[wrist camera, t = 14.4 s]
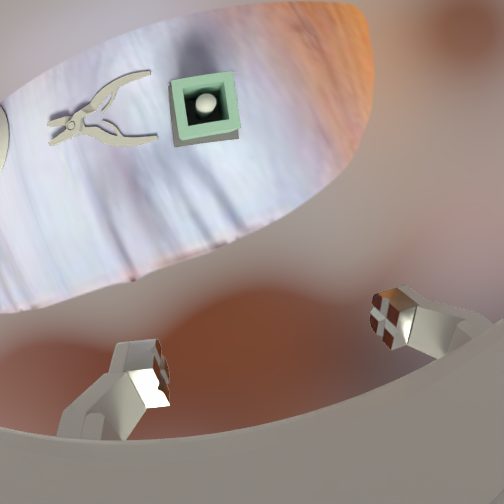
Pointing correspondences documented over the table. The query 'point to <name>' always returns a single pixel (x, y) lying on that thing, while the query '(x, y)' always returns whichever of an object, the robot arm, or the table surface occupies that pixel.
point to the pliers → (78, 127)
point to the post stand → (199, 119)
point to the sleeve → (208, 84)
